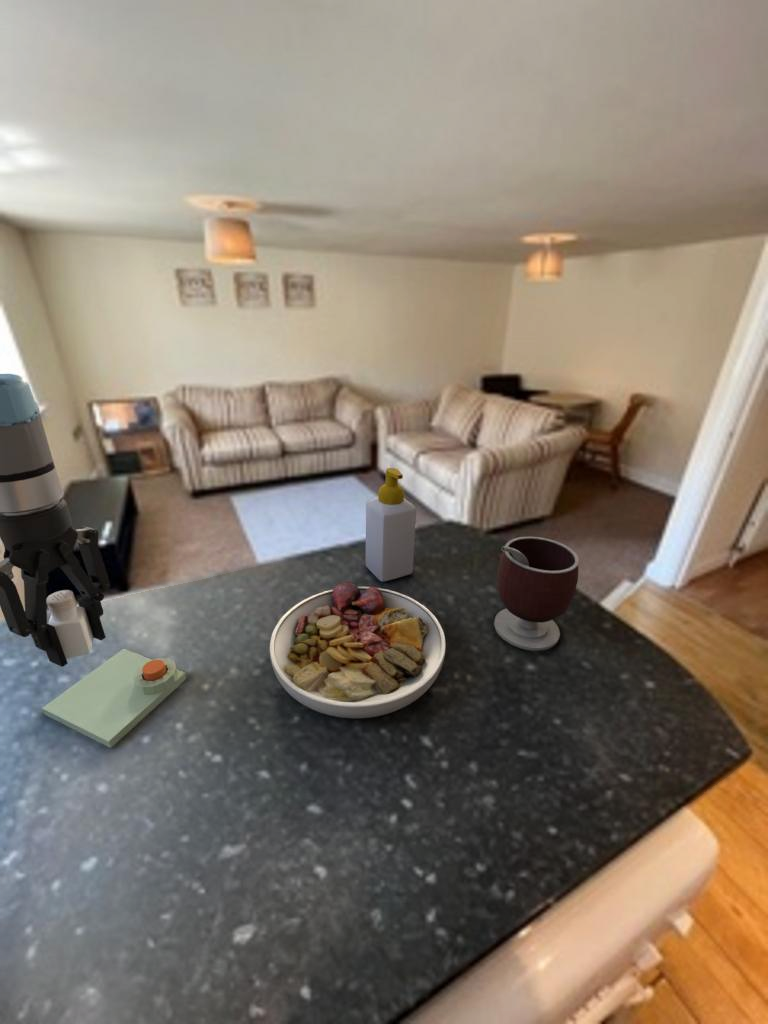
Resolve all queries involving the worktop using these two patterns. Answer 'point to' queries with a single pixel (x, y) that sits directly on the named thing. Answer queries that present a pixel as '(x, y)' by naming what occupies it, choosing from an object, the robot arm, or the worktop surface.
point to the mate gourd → (534, 590)
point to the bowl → (357, 651)
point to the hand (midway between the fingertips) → (78, 648)
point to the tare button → (154, 670)
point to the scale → (113, 697)
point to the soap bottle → (390, 530)
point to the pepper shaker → (70, 624)
